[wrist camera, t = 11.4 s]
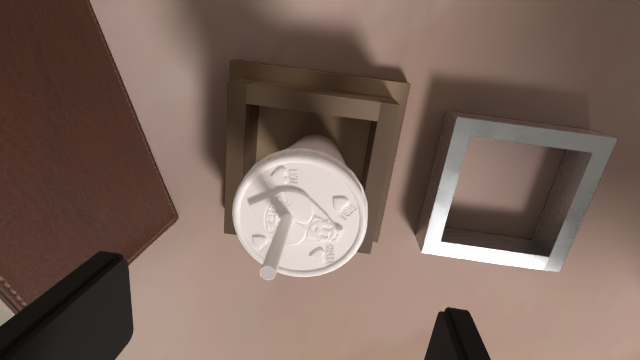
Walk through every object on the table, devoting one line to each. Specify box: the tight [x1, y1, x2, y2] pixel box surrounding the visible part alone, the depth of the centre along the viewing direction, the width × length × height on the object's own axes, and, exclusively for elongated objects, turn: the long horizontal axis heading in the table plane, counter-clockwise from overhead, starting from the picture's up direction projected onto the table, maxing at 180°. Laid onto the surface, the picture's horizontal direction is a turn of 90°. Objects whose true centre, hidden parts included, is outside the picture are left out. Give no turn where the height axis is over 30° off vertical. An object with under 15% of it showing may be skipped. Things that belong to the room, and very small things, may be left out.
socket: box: [224, 60, 411, 254], centre depth 24 cm, size 12×12×4 cm
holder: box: [415, 111, 618, 272], centre depth 25 cm, size 10×10×2 cm
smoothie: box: [232, 134, 368, 280], centre depth 18 cm, size 6×6×14 cm
